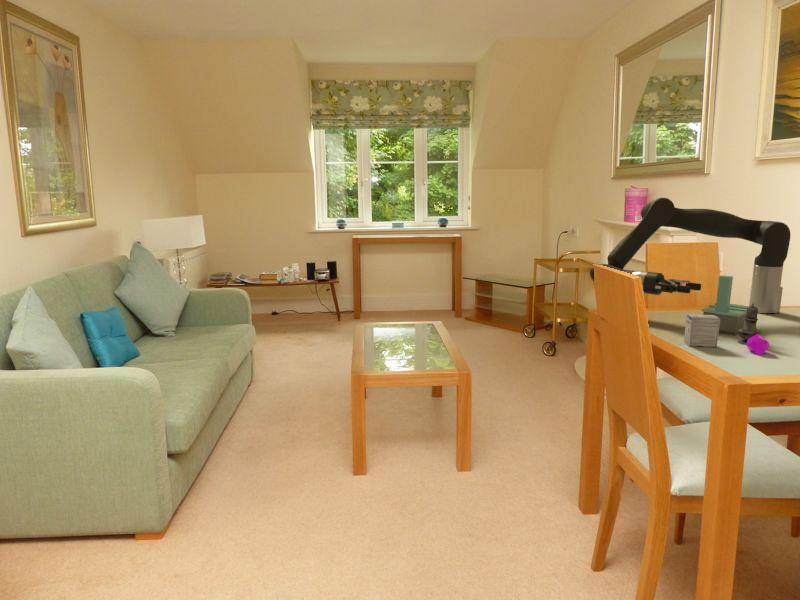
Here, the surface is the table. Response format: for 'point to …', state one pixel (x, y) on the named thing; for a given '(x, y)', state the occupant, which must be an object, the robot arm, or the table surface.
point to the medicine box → (702, 330)
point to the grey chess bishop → (749, 325)
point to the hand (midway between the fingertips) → (695, 288)
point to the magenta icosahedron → (758, 344)
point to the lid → (725, 300)
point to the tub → (729, 323)
